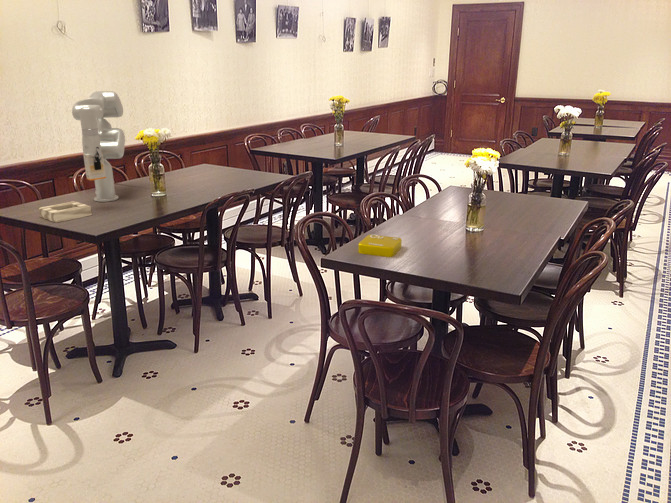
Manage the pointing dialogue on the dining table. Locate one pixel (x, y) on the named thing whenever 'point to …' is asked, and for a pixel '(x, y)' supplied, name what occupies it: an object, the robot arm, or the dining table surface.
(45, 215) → the well
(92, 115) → the robot arm
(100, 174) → the supplement box
